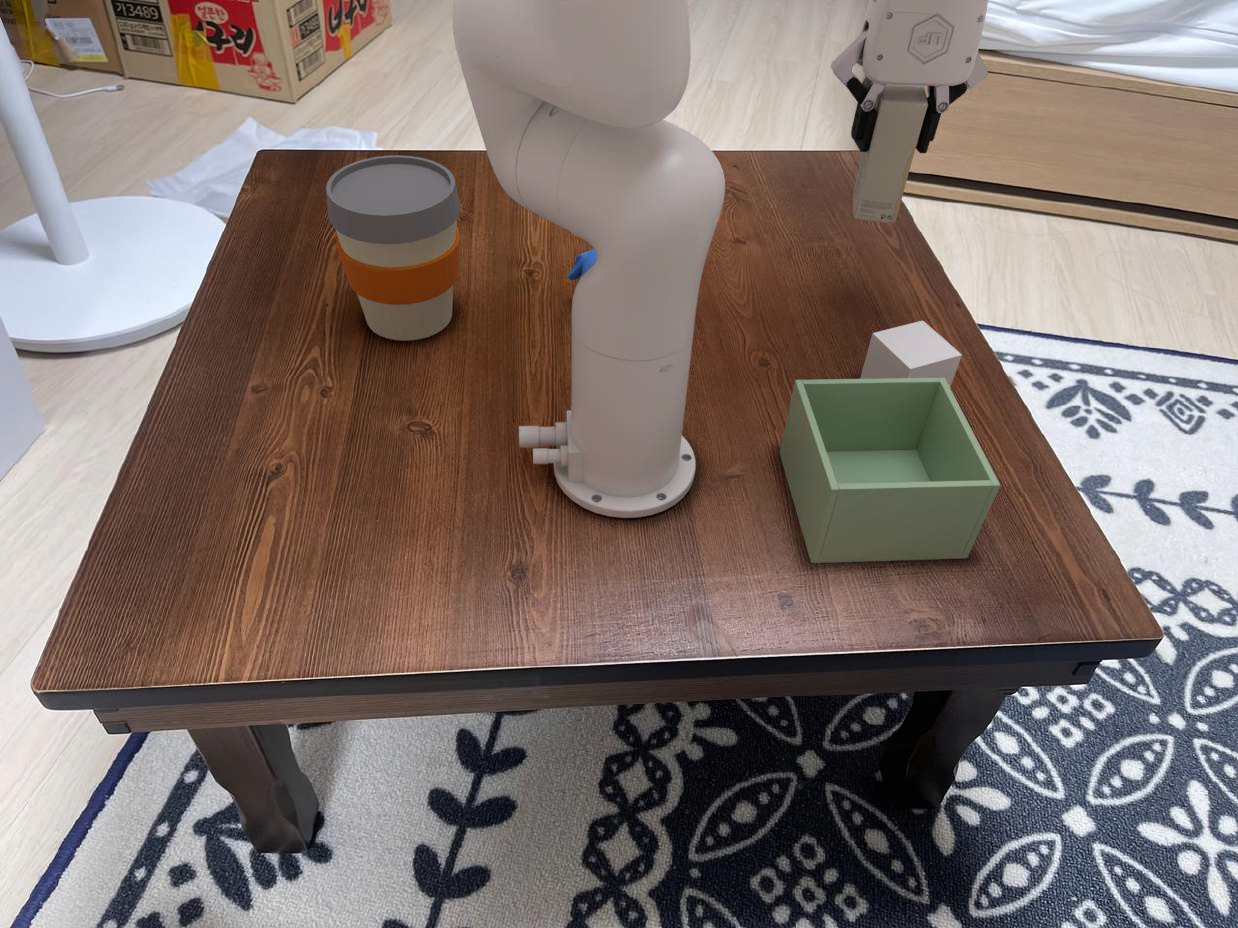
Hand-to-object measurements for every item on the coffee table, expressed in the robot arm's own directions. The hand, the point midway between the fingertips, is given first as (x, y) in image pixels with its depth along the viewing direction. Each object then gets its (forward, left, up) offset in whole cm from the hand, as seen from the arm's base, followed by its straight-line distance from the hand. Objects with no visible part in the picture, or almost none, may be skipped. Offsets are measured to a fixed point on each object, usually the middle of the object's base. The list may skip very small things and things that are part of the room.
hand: (889, 145), depth 92 cm
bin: (-7, -31, -18) cm, 37 cm away
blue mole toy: (-26, 0, -18) cm, 31 cm away
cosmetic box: (0, 0, -7) cm, 7 cm away
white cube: (+1, -16, -18) cm, 25 cm away
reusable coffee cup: (-49, -2, -18) cm, 52 cm away
